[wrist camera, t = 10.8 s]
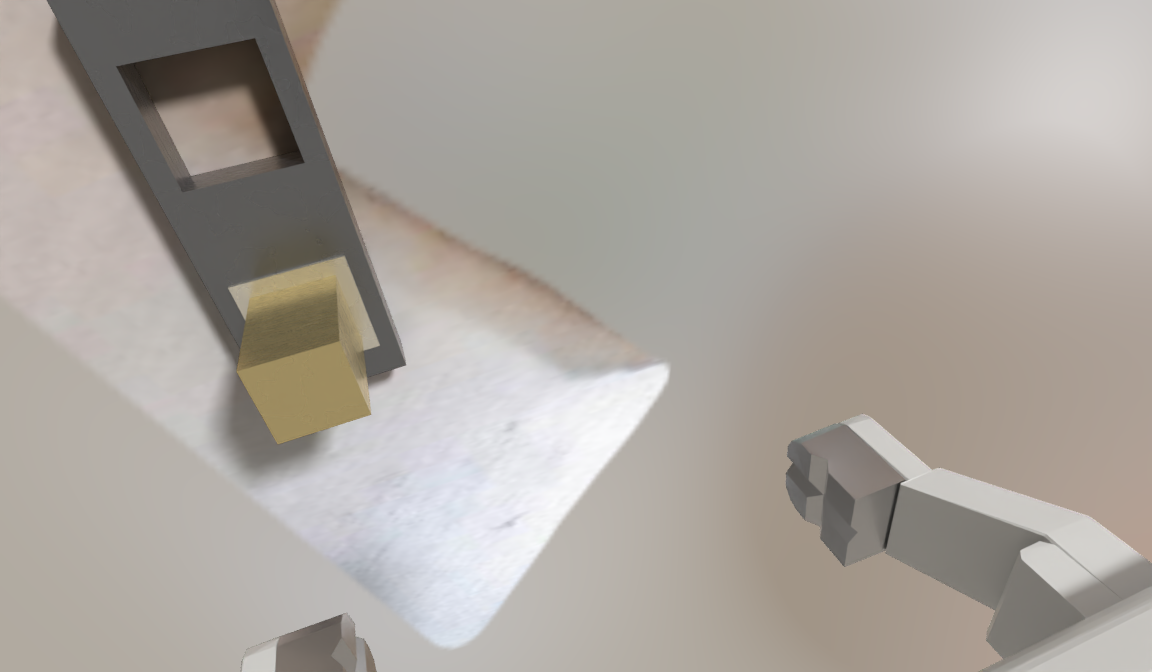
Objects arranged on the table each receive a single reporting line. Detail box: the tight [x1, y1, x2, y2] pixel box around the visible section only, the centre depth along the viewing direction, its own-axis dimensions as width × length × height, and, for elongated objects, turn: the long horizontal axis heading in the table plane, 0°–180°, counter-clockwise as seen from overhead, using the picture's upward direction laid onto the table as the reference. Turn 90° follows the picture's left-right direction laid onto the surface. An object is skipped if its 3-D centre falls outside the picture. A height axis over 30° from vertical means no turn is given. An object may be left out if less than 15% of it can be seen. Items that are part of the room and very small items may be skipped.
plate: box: [47, 0, 406, 377], centre depth 33 cm, size 22×8×3 cm, turn 9°
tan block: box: [236, 275, 371, 444], centre depth 32 cm, size 4×4×7 cm
